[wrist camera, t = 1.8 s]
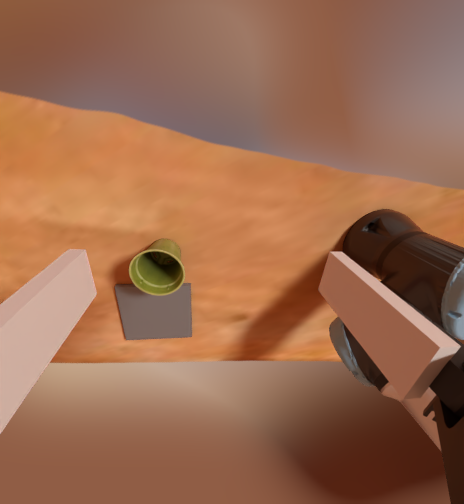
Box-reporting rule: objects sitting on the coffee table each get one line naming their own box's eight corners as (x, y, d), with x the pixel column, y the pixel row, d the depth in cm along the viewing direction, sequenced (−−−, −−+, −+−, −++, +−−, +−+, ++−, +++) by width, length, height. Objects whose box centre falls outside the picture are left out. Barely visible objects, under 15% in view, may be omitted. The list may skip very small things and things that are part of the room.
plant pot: (153, 276, 48) (144, 301, 40) (133, 238, 43) (118, 259, 36) (194, 263, 47) (192, 287, 40) (177, 224, 43) (172, 242, 35)
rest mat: (190, 283, 49) (190, 285, 49) (191, 334, 57) (191, 337, 56) (116, 284, 47) (114, 287, 46) (127, 336, 54) (126, 340, 54)
